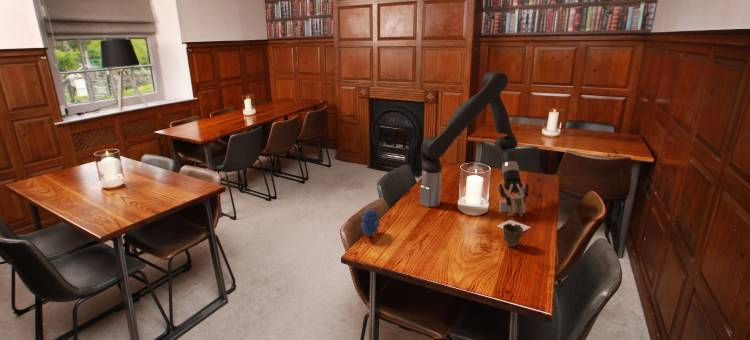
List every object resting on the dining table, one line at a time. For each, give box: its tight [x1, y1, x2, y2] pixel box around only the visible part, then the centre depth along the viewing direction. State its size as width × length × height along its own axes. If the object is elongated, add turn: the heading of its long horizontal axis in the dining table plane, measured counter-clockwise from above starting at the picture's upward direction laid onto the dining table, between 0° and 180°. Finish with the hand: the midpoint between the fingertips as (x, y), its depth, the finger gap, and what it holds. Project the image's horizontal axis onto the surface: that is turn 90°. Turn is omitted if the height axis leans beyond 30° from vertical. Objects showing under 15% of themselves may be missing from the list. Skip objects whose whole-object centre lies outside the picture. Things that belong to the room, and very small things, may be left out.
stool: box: [508, 195, 527, 218], centre depth 183 cm, size 10×6×10 cm, turn 179°
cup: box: [502, 223, 524, 248], centre depth 156 cm, size 8×7×8 cm
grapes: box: [360, 208, 381, 237], centre depth 164 cm, size 12×7×12 cm, turn 145°
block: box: [498, 200, 527, 213], centre depth 188 cm, size 2×12×5 cm, turn 89°
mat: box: [496, 219, 531, 233], centre depth 173 cm, size 10×10×1 cm
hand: (516, 205), depth 183 cm, fingers closed on stool, 5 cm apart
